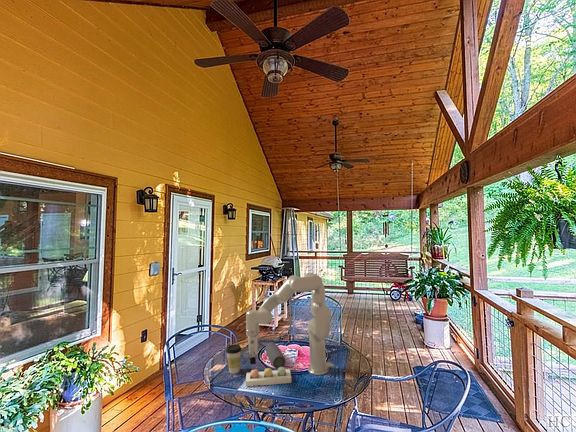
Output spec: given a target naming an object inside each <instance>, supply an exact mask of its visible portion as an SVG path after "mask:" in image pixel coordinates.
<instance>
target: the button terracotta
mask: <svg viewBox="0 0 576 432" xmlns="http://www.w3.org/2000/svg"><path fill="white" fill-rule="evenodd" d="M250 372H251V378H257V377H258V372H259V370H258V369H256V368H255V369H254V368H253V369H252V370H250Z"/></svg>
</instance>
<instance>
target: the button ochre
mask: <svg viewBox="0 0 576 432" xmlns="http://www.w3.org/2000/svg"><path fill="white" fill-rule="evenodd" d="M263 371H264V372H265V377H270V376H272V371H273V370H272V368H270V367H267V368H265V369H264V370H263Z"/></svg>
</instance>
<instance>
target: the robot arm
mask: <svg viewBox="0 0 576 432" xmlns="http://www.w3.org/2000/svg"><path fill="white" fill-rule="evenodd" d="M323 282H324V281H323V279H322V277H321V276H319V275H318V274H317V273H313V272H307V273H306V274H305V275H304V276H302V277H300V276H297V275H295V274H292V275H290V276H289V277H288V278H287V279H286V280H285V281H284V282H283V284H282V285H281V286H280V287H279V288H278V289H277V290H276V291H275V292H274V293H273V294H272V295H270V296H269V297H267V299H266V300H265V301H263V303H262V304H261V305H260V307H259V308H258V309H257V310H256V309H248V310H247V311H246V312H245V323H246V324H245V334H246V336H247V337H248V339H247V340H248V342H247V344H248V354H249V355H250V356H249V364H250V365H256V363H257V359H256V357H257V356H256V354H258V352H259V351H258V347H259V346H258V345H259V343H258V342H259V341H258V336H259V335H260V324H262V325H263V324H264V325H266V324H270V323H271V322H272V321H273V318H274V317H273V313H272V312H273V311H274V309H275V308H276V307H278V306H279V305H281V304H285V303H287V302H288V300H289V299H290V298H291V297H292V296H293V295H294V294H295V293H303V292H311V303H310V313H311V314H312V316H314V317H312V318H311V319H310V320H309V321H308V323H307V331H308V332H307V333H308V338H309V339H308V341H309V358H310V360H309V361H310V365H309V366H308V367H307V371H308V373H310V374H312V375H316V376H322V375H326V374H327V373H329V368H334V367H335V366H334V365H335V364H334V363H331V362H330V361H329V362H327V359H326V356H327V355H326V339H327V338H328V337H329V336H330V332H331V319H332V313H331V309H330V307H329V306H328V305H327V304H326V289H325V286H324V283H323Z"/></svg>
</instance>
